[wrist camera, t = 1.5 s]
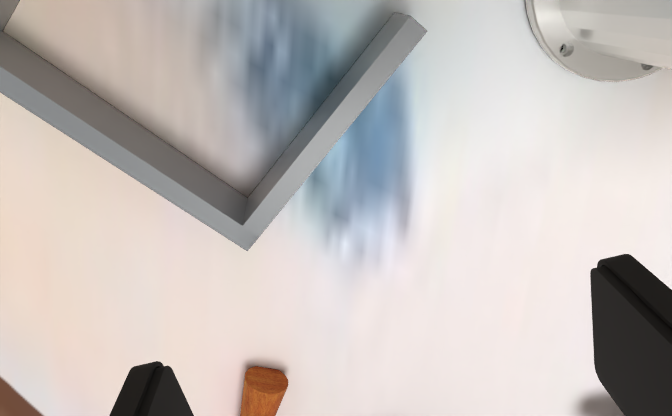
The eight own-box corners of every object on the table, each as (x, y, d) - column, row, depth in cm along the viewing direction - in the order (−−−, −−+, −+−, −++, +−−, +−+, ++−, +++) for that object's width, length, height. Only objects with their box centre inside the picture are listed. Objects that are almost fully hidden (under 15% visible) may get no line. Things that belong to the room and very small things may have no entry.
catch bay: (121, -235, 26) (90, -277, 22) (409, 25, 32) (427, 31, 28) (-29, 34, 30) (-79, 41, 26) (251, 221, 36) (247, 251, 32)
